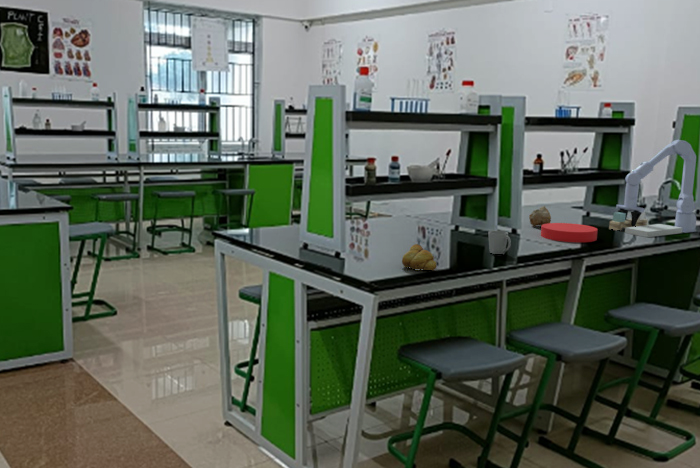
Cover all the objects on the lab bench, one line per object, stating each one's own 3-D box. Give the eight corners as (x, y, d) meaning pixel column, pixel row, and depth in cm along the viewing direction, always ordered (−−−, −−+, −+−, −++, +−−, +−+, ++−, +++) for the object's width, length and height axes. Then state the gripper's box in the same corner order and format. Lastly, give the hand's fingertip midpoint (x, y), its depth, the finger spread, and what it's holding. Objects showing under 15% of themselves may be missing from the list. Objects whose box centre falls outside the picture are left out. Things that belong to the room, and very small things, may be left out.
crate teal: (618, 220, 324) (618, 212, 324) (625, 221, 321) (625, 213, 320) (612, 220, 322) (613, 212, 322) (619, 222, 319) (620, 213, 318)
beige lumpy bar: (637, 225, 334) (638, 218, 333) (646, 227, 330) (647, 219, 329) (609, 229, 323) (609, 220, 322) (617, 230, 319) (618, 222, 318)
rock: (551, 228, 320) (552, 208, 318) (529, 227, 322) (530, 207, 320) (549, 224, 332) (550, 205, 330) (527, 223, 334) (529, 204, 332)
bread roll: (442, 271, 230) (443, 248, 229) (422, 274, 224) (422, 251, 223) (416, 264, 240) (417, 242, 238) (396, 267, 234) (397, 245, 233)
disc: (609, 230, 293) (569, 233, 282) (608, 240, 294) (569, 244, 283) (568, 221, 314) (530, 224, 303) (567, 231, 315) (529, 235, 304)
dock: (659, 228, 326) (659, 223, 326) (682, 232, 316) (682, 227, 316) (624, 232, 313) (625, 227, 312) (647, 237, 303) (648, 231, 302)
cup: (496, 250, 266) (497, 229, 264) (515, 255, 258) (517, 233, 256) (483, 252, 261) (484, 231, 260) (502, 257, 253) (504, 235, 252)
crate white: (637, 218, 332) (638, 210, 331) (644, 219, 329) (645, 211, 328) (632, 218, 330) (633, 210, 329) (639, 220, 327) (640, 212, 326)
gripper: (613, 196, 328) (610, 223, 330) (638, 199, 315) (636, 227, 318) (622, 195, 331) (619, 222, 334) (648, 199, 319) (645, 226, 321)
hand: (628, 225), depth 326 cm, fingers closed on beige lumpy bar, 5 cm apart
